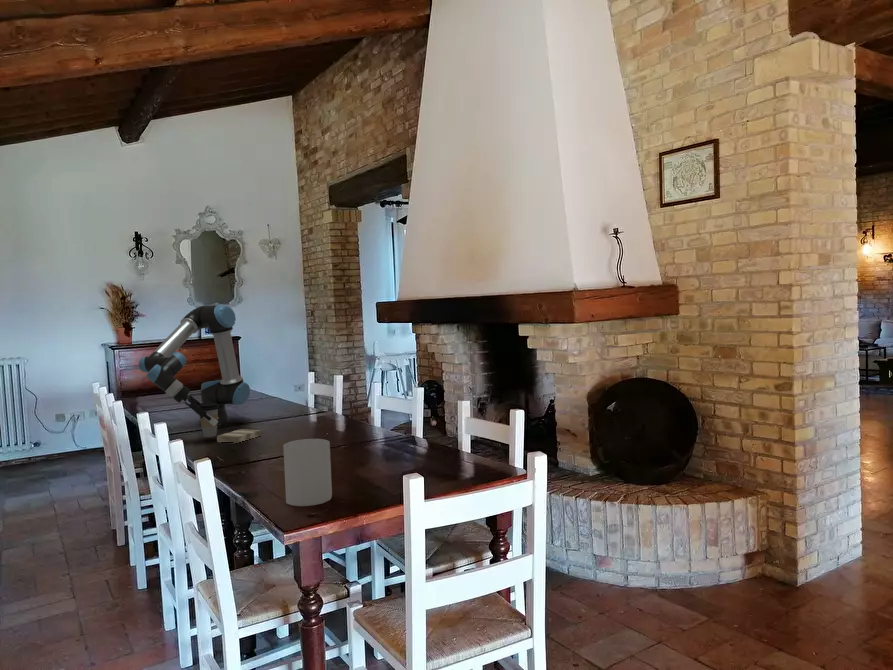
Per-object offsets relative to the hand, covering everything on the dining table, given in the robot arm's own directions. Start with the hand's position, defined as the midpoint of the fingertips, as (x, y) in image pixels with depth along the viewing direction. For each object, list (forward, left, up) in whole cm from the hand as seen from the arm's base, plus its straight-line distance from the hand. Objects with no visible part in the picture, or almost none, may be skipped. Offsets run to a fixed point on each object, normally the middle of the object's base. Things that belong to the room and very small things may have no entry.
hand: (216, 422), depth 304 cm
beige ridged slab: (-4, +10, -8) cm, 13 cm away
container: (+64, +99, -9) cm, 118 cm away
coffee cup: (+2, -3, -6) cm, 7 cm away
